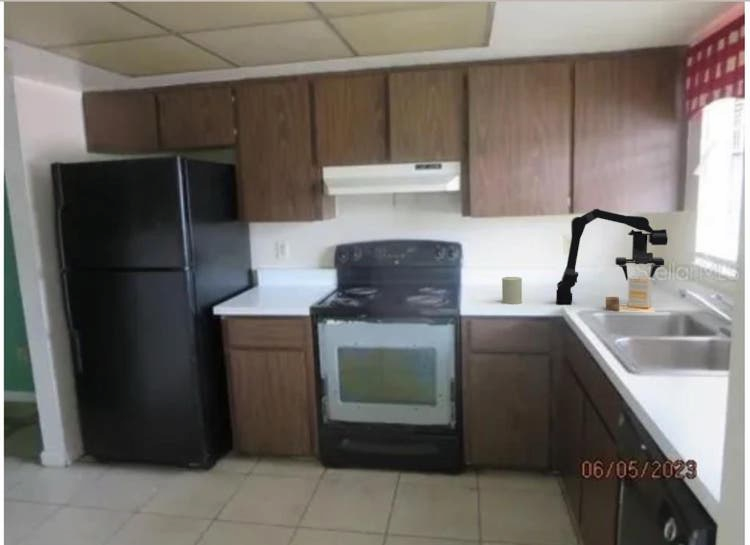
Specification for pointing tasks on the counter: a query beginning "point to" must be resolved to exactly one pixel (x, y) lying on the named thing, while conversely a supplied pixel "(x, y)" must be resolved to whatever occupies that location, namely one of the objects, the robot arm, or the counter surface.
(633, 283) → the supplement box
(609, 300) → the walnut cube
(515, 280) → the can
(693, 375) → the counter surface
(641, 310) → the letter
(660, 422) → the counter surface
